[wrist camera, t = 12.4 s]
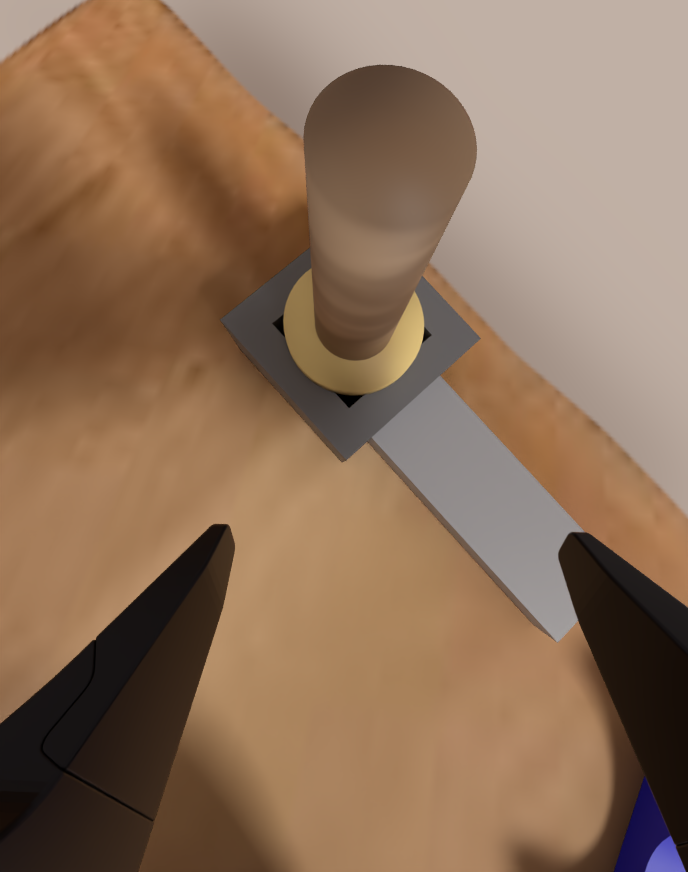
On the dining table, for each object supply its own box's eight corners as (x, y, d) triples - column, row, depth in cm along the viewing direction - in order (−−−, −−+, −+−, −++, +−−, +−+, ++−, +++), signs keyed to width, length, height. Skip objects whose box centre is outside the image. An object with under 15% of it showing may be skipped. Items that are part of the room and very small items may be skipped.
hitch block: (510, 650, 19) (558, 695, 15) (240, 349, 20) (219, 319, 16) (614, 539, 20) (684, 556, 16) (352, 257, 21) (358, 208, 17)
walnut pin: (316, 425, 20) (303, 336, 7) (275, 322, 20) (187, 52, 7) (420, 385, 20) (591, 230, 7) (377, 285, 21) (467, -26, 8)
